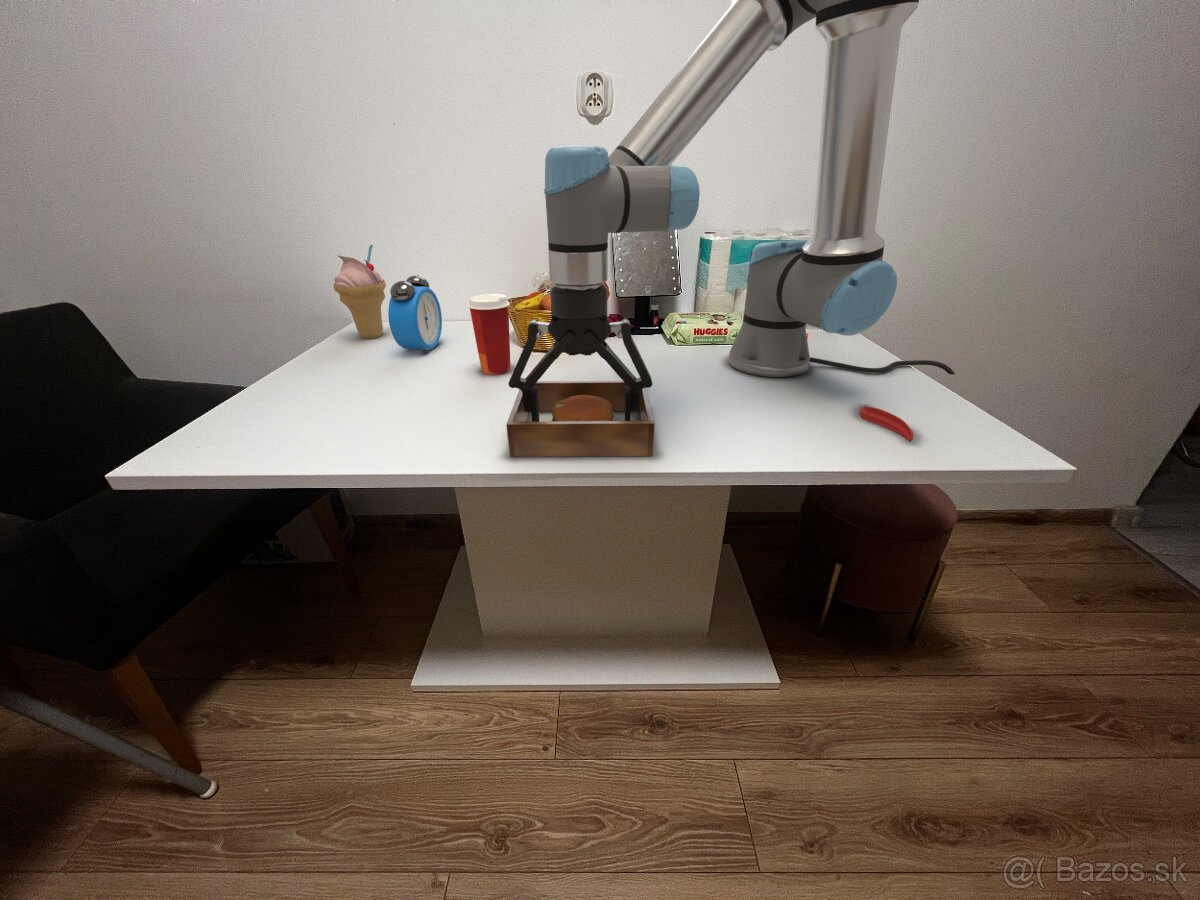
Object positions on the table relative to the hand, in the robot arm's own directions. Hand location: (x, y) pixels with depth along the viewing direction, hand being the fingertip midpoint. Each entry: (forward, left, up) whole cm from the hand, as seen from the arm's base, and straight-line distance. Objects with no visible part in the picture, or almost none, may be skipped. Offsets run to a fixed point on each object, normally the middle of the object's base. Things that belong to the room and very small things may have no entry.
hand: (581, 430), depth 76 cm
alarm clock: (+37, -41, 0) cm, 55 cm away
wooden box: (0, 0, 0) cm, 0 cm away
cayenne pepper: (-46, -2, 0) cm, 46 cm away
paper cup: (+18, -27, 0) cm, 32 cm away
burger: (0, 0, 0) cm, 0 cm away
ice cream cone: (+52, -51, 0) cm, 73 cm away
